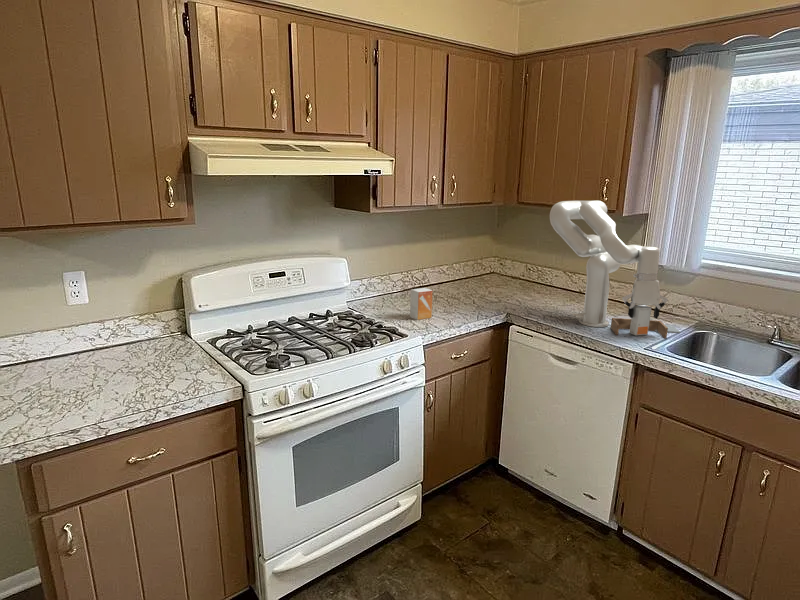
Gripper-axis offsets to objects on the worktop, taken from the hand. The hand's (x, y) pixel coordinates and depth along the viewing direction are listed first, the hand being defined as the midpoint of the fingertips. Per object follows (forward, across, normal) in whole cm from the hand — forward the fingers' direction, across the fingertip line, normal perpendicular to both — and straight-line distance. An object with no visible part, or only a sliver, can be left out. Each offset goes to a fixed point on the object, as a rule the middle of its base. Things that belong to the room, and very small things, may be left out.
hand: (643, 317), depth 217 cm
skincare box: (+8, -1, +1) cm, 8 cm away
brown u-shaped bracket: (+7, -1, +2) cm, 8 cm away
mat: (+7, +12, +11) cm, 18 cm away
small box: (+5, -94, +5) cm, 94 cm away
